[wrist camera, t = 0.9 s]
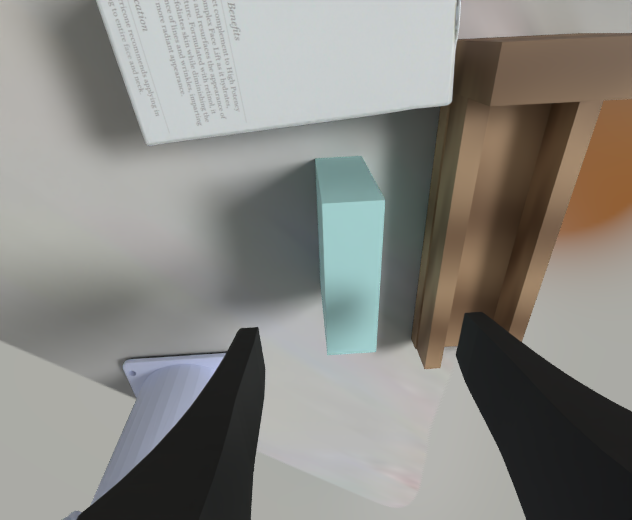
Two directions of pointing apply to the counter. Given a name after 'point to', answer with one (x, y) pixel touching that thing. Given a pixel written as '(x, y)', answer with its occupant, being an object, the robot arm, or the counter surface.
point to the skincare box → (278, 61)
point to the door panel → (349, 252)
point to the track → (508, 174)
